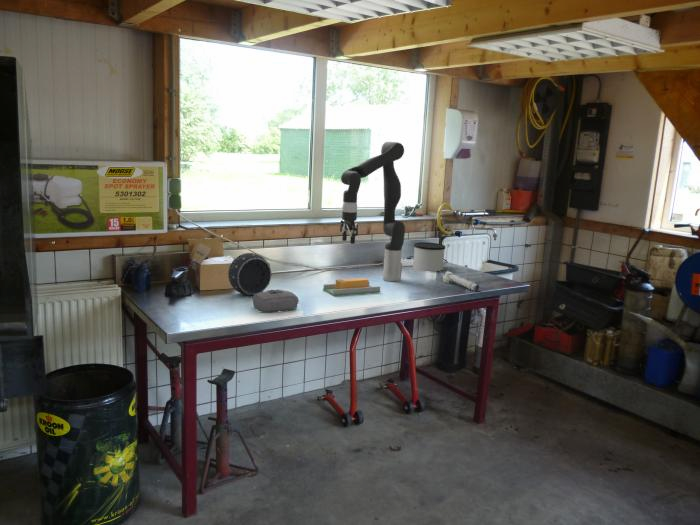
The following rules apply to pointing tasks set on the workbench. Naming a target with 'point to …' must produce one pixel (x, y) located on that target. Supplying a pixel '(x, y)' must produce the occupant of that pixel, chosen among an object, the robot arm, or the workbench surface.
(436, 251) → the container
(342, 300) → the workbench surface
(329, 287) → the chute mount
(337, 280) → the chute
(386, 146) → the robot arm
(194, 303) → the workbench surface
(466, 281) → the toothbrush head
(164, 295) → the workbench surface
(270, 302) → the soft grey pack
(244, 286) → the dark patterned drum
